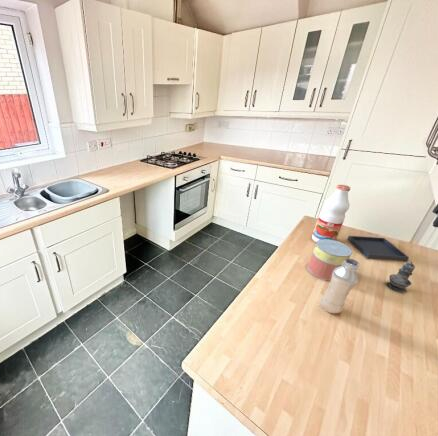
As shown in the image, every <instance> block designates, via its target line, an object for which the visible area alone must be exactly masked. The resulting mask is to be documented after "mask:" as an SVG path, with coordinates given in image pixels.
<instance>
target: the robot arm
mask: <svg viewBox="0 0 438 436" xmlns="http://www.w3.org/2000/svg"><path fill="white" fill-rule="evenodd" d="M432 213H433V214H435V215H436V217H435V219H434V221H433V222H432V227H434V228H438V203H437V204H436V205H435V207H434V208H433V209H432Z"/></svg>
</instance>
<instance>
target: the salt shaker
mask: <svg viewBox="0 0 438 436" xmlns="http://www.w3.org/2000/svg"><path fill="white" fill-rule="evenodd" d="M415 268H416V265H415V264H414V263H413V261H409V262H404V263H403V264H402V265H401V268H398V272H397V273H396V274H393V273H392V274H389V281H387V282H386V287H387V288H389V289H390V290H392V291H394V292H397V293H405V292H406V288H408V287H410V286H411V285H412V282H411V281H410V280H409V278H410V277H411V276H413V271H414V270H415Z"/></svg>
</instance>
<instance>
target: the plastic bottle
mask: <svg viewBox="0 0 438 436" xmlns="http://www.w3.org/2000/svg"><path fill="white" fill-rule="evenodd" d="M359 266H360V263H359V261H357V260H356V259H353V258H347V259H345V260H344V262H343V263H342V266H339V267H337V268H336V269H335V270H334V271H333V273H332V277H331V281H330V282H329V283H328V287H327V289H326V290H325V292H324V293H323V294H322V295H321V297H320V299H319V305H320V307H321V308H322V309H323V310H324V311H325V312H327V313H330V314H332V315H333V314H335V315H336V314H339V313H341V312H343V310H344V308H345V305H346V300H347V299H348V295H349V294H350V293H351V290H352V289H353V288H355V286H356V284H357V283H358V282H359V275H358V272H357V271H358V269H359Z"/></svg>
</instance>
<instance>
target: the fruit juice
mask: <svg viewBox="0 0 438 436" xmlns="http://www.w3.org/2000/svg"><path fill="white" fill-rule="evenodd" d="M350 191H351V186H349V185H347V184H337V185H335V190H334V192H332V194H331V195H330V196H329V197H328V198H327V199H325V201H324V202H323V208H322V209H321V211H320V213H319V214H318V217H317V221H316V223H315V226H314V229H313V230H312V231H313V232H312V234H311V239H312V240H313V241H314V242H315V243H317V241H318V240H321V239H330V240H335V241H337V238H338V236H339V233H340V231H341V228H342V226H343V224H344V222H345V218H346V213H347V212H348V210H350V209H349V208H350V202H349V192H350Z"/></svg>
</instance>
